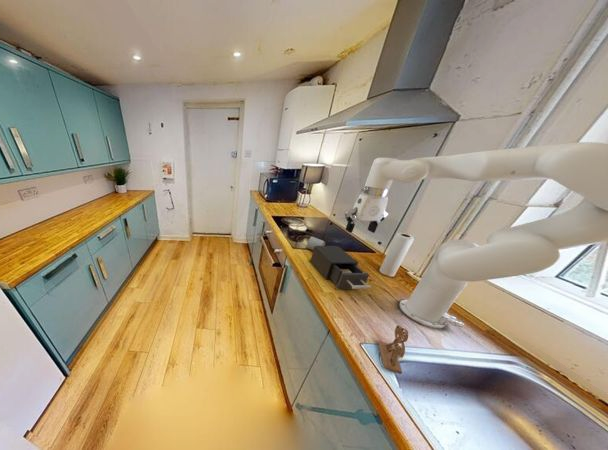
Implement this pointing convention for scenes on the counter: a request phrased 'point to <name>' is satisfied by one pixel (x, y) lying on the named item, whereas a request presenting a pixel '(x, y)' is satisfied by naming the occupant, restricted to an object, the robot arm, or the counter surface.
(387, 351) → the brown irregular upright piece
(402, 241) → the paper towel roll
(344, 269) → the block
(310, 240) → the ceramic mug
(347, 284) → the black pull-out drawer
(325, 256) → the black drawer cabinet housing
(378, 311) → the counter surface
